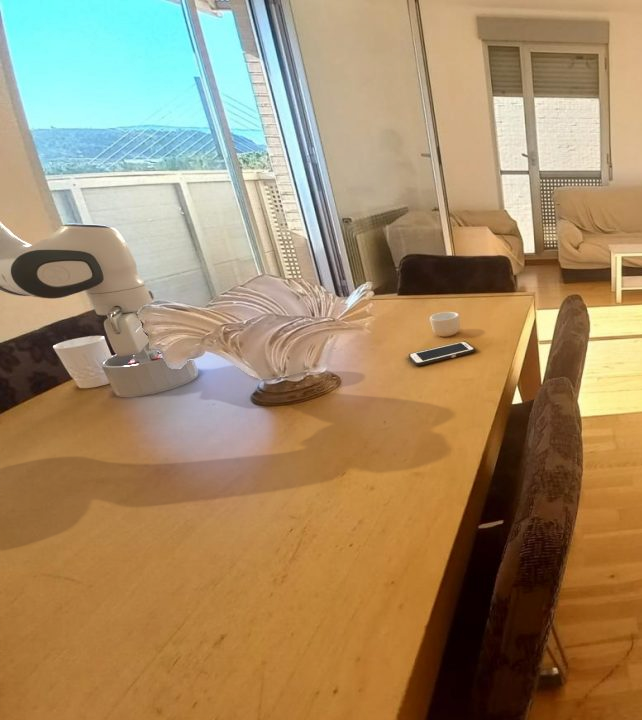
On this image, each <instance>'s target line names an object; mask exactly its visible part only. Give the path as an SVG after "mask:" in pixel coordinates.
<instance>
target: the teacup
mask: <svg viewBox="0 0 642 720" xmlns="http://www.w3.org/2000/svg"><path fill="white" fill-rule="evenodd" d="M460 321H461V319H460V314H459V313H458V312H455V311H442V312H437V313H434V314H432V315H430V316H429V322H430V326H431V328H432V331H433V333H434V334H435V335H436V336H439V337H443V338H448V337H452V336H454V335H456V334H457V333H458V332H459V330H460V327H461V322H460Z"/></svg>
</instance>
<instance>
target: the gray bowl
mask: <svg viewBox="0 0 642 720" xmlns="http://www.w3.org/2000/svg"><path fill="white" fill-rule="evenodd" d="M159 354H161V353H159V352H158V355H159ZM132 359H134V358H133V354H132V355H126V356H118V355H117V354H116V353H115V354H114V355H112V356H111V357H109V358H107V359H105V360H103V361H102V362H101V363H100V364H101V366H102V368H103V370H104V372H105V374H106V376H107V378H108V380H109V382H110V383H109V384H110V386H111V388H112V391H113V392H114V394H115V395H116V396H117V397H119V398H120V397H122V398H134V397H144V396H149V395H153V394H159V393H162V392H166V391H169V390H173V389H176V388H178V387H181V386H184V385H186V384H188V383H190V382H192V381H194V380H195V379H197V377H198V376H199V369H198V368H197V365H196V363H195V360H194V359H193V360H189V361H187V363H186V364H185V365H184V366H183V367H182V368H181V369H171V368H169V367H168V366H167V364H166V362H165V361H164V359H163V358H161V359H158V360H154V361H150V362H146V363H140V364H135V365H128V363H129V362H130V361H131V360H132Z"/></svg>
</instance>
